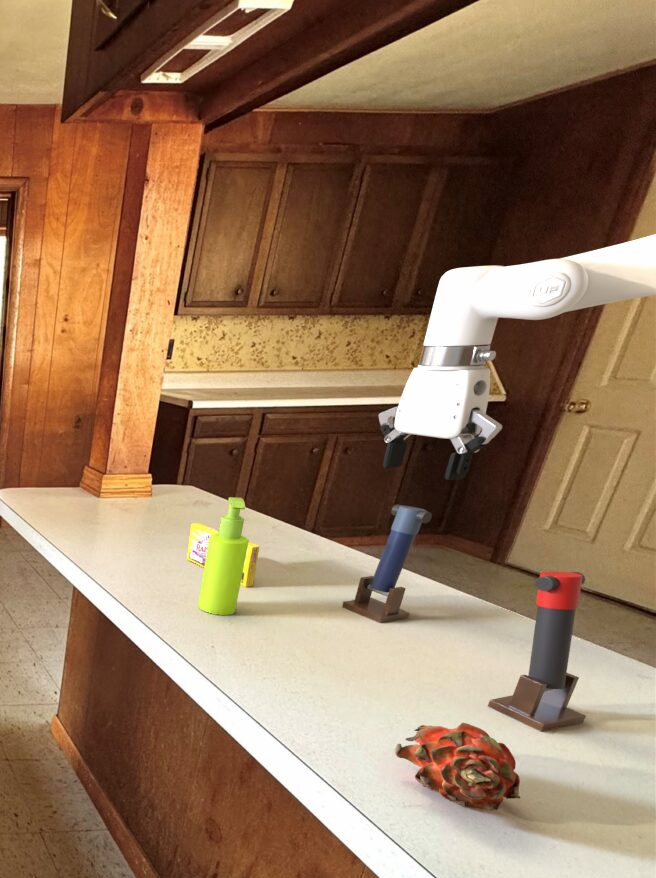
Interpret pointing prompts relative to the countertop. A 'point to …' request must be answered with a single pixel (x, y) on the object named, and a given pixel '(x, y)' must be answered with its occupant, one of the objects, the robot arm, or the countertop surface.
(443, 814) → the countertop surface
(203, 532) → the candy box
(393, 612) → the holder
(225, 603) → the soap dispenser
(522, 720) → the holder
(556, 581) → the red marker
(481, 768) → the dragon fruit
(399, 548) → the navy marker
